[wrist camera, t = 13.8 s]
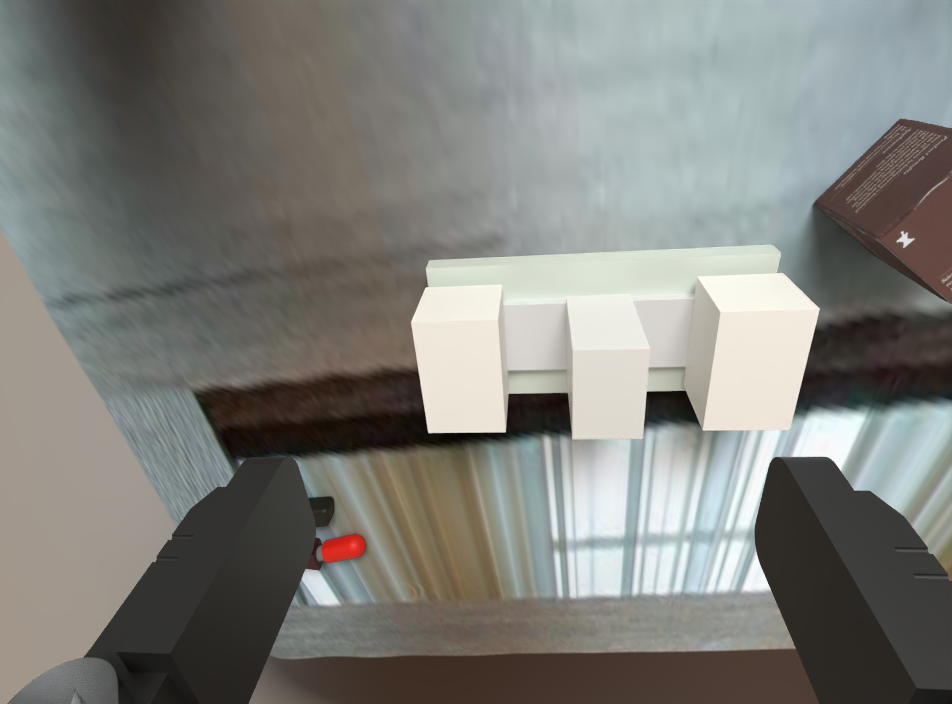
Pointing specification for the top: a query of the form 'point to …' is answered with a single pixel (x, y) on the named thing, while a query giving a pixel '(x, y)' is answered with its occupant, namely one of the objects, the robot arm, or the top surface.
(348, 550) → the toy gun
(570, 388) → the block
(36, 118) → the top surface
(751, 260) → the board
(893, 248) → the box
